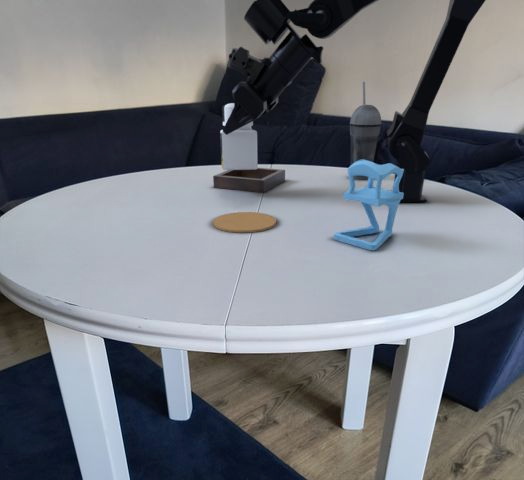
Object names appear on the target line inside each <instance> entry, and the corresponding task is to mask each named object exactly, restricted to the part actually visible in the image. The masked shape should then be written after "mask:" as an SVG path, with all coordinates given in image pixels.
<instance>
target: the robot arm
mask: <svg viewBox="0 0 524 480" xmlns="http://www.w3.org/2000/svg"><path fill="white" fill-rule="evenodd" d="M377 2H379V0H313V1H311V2H310V3H309V4H308V6H307V7H306V8H301V9H296V8H295V9H294V10H292V11H291V10H290V9H289V7H288V6H287V5H286V4H285V2H284V1H283V0H254V1H253V2H252V3H251V5H250V6H249V8H248V9H247V11H246V12H245V15H244V17H243V20H244V21H245V22H246V23H247V25H248V26H249V27H250V28H251V29H252V30H253V31H254V33H255V34H256V35H257V36H258V37H259V38H260V39H261V41H262V42H263V43H264V44H265V45H268V44H270V43H272V45H274V46H275V45H277V44H278V42H280V40H281V39H282V38H283V37H284V36H285V34H286V33H287V32H288V31H289V32H288V33H287V35H286V36H285V37H284V39H283V40H282V41H281V42H280V43H279V45H278V46H277V47H276V48H275V50H274V51H273V52H271V54H270V55H269V56H267V57H263V59H262V60H260V59H259V58H257V57H255V56H254V55H252V54H250V50H249V49H246V48H244V47H243V46H239V47H238V48H236V47H232V49H231V52H230V53H229V54H228V61H227V64H226V67H227V68H228V69H230V70H235V71H237V72H239V73H241V74H242V75H245V76H247V78H246V81H240V82H238V83H237V84H236V86H234V88H233V89H232V90H231V93H232V97H233V103H234V108H233V110H232V112H231V114H230V116H229V118H228V121H227V123H226V125H225V126H224V127H223V129H222V130H223V132H224V133H225V134H226V135H227V134H229V133H231V132H233V131H235V130H237V129H239V128H241V127H243V126H244V125H246V124H248V123H250V122H252V121H253V122H254V121H256V120H258V119H259V118H260V117H262V116H265V115H266V114H268V113H269V112H270V111H272V110H273V109H274V108H275V107H276V106H277V104H279V96H281V94H282V93H283V92H284V91H285V90H286V88H288V87H289V86H290V85H291V84H292V83H293V80H294V79H295V78H296V77H297V76H298V74H299V73H301V71H302V70H303V69H304V67H305V66H306V65H308V63H309V62H310V61H311V60H312V59H313V61H314V62H315V63H316V64H317V65H321V64H322V63H323V51H324V50H325V49H324V46H317V45H316V44H315V43H314V41H313V40H312V39H311V38H310V37H309V35H308V34H307V33H305V34H303V35H302V36H301V35H300V34H299V33H298V32H297V31H296V30H295V28H294V27H293V26H292V25H291V23H292V24H293V25H294V26H296V27H298V28H300V29H306V30H307V31H308V33H309V34H310V35H311V36H312V37H315V38H316V39H319V40H326V39H329V38H331V37H332V36H334V35H335V34H336V33H337V32H338V31H339V30H340V29H342V28H343V27H344V26H345V25H347V23H349V22H350V21H351V20H352V19H353V18H354V17H355V16H357V15H358V14H359V13H361V11H363V10H365V9H366V8H368V7H370V6H372V5H373V4H375V3H377ZM448 2H449V3H448V7H447V13H446V16H445V20H444V22H443V24H442V27H441V29H440V31H439V34H438V36H437V38H436V41H435V43H434V45H433V48H432V50H431V52H430V54H429V57H428V59H427V62H426V63H425V66H424V68H423V71H422V73H421V76H420V78H419V80H418V83H417V85H416V87H415V88H414V91H413V93H412V96H411V98H410V101H409V103H408V104H407V106H406V108H405V109H404V110H403V112H402V113H401V112H399V111H398V110H395V111H394V115H393V119H392V122H391V125H390V127H389V128H388V129H387V130H386V135H387V147H388V150H389V153H390V155H391V156H392V157H393V159H395V160H397V163H398V164H396V165H395V166H397V167H399V168H400V169H404V172H403V175H402V177H401V180H400V182H399V192H402V193H404V195H403V199H401V200H400V202H399V203H427V201H428V199H427V197H425V196H424V195H423V190H424V183H425V177H426V171H427V169H428V166H429V165H430V163H431V158H430V157H429V155H428V154H427V152H426V151H425V150H424V148H423V147H422V143H423V139H424V136H425V133H426V127H427V123H428V119H429V114H430V112H431V108H432V106H433V104H434V102H435V99H436V98H437V96H438V94H439V91H440V89H441V86H442V84H443V82H444V79H445V78H446V76H447V74H448V71H449V69H450V67H451V64H452V62H453V60H454V58H455V56H456V54H457V52H458V49H459V47H460V45H461V42H462V40H463V38H464V36H465V34H466V31H467V29H468V27H469V25H470V24H471V22H472V20H473V19H474V17H475V16H476V15H477V13H478V12H479V11H480V9H481V8H482V7H483V5H484V3H485V2H486V0H449V1H448ZM396 178H397V174H395V173H394V177H393V183H394V182H395V180H396Z"/></svg>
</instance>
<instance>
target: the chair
mask: <svg viewBox="0 0 524 480" xmlns="http://www.w3.org/2000/svg"><path fill="white" fill-rule="evenodd" d="M346 171H347V176H348V181H349V186H348V187H349V188H348V190H347V191H345V192H342V200H347V201H353V202H354V201H355V202H360V203H361V205H362V207H363V209H364V211H365V213H366V216H367V219H368V221H369V223H370V226H366V227H361V228H355V229H349V230H343V231H337V232H335V233H333V240H335V241H338V242H341V243H345V244H348V245H351V246H355V247H358V248H362V249H365V250H368V251H373V252H374V251H377V250H378V249H379V248H380V247H381V246H382V245H384V243H385V241H387V240H388V239H389V238H390V237H391V236H392V235H393V228H394V223H395V219H396V215H397V211H398V208H399V205H400V203H401V202H400V200H401V199H403V195H404V193H402V192H399V182H400V180H401V177H402V175H403V172H404V169H400V168H399V167H397V166H396V165H395V164H394V163H390V162H389V163H383V164H378V163H375V162H374V161H373V162H371V161H367V160H365V159H361V160H359V161H357V162H355V163H353V164H352V165H351V164H350V166H349V167H347V169H346ZM392 174H394V175H395V174H397V178H396V180H395V182H394V181H393V184H392V190H388V189H384V188H383V189H382V183H383V181H384V180H385V179H387V177H389V176H390V175H392ZM353 176H367V177H369V178H368V179H367V186H363V187H361V188H359V189H356V181H355V179H354V178H353ZM374 181H376V184H375V186H374ZM372 206H374V207H381V206H387V207H388V213H387V219H386V223H385V228H384V230H383V231H382V232H381V233H380V234H378V236H377V238H375V240H374V241H373V242H371V241H367V240H363V239H359V238H356V237H361V236H365V235H366V236H367V235H373V234H376V233H379V232H380V226H379V223H378V221H377V217H376V216H375V212H374V209H373V207H372Z"/></svg>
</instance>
